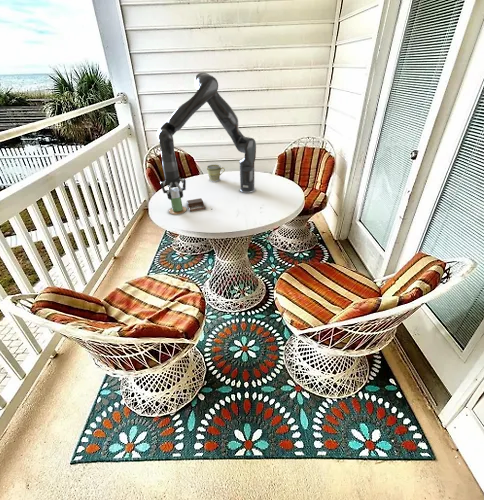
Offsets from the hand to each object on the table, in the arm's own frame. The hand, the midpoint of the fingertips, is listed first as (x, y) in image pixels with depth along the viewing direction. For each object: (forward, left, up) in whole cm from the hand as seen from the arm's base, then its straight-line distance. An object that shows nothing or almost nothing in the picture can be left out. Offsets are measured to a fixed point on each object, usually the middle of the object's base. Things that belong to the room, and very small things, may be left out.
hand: (175, 198), depth 155 cm
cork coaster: (0, 0, -8) cm, 8 cm away
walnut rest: (-8, +8, -8) cm, 13 cm away
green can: (0, 0, -1) cm, 1 cm away
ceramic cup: (-52, +1, -8) cm, 53 cm away
